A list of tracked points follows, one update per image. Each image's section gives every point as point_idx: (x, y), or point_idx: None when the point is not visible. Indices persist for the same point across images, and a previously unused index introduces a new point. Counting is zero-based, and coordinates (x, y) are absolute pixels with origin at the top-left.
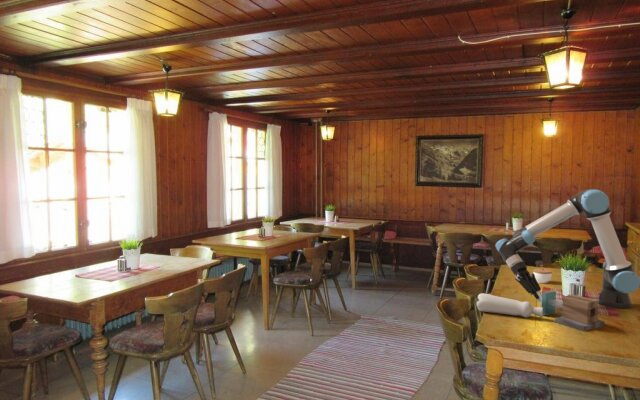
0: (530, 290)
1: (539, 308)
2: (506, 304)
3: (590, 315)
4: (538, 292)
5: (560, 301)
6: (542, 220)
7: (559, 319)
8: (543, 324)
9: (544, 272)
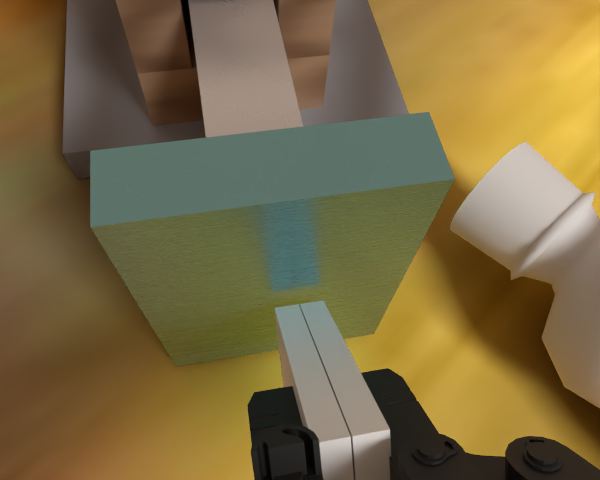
0: (578, 473)
1: (549, 166)
2: None
3: None
4: (347, 414)
5: (269, 52)
6: None
7: (395, 79)
8: (538, 134)
9: None
